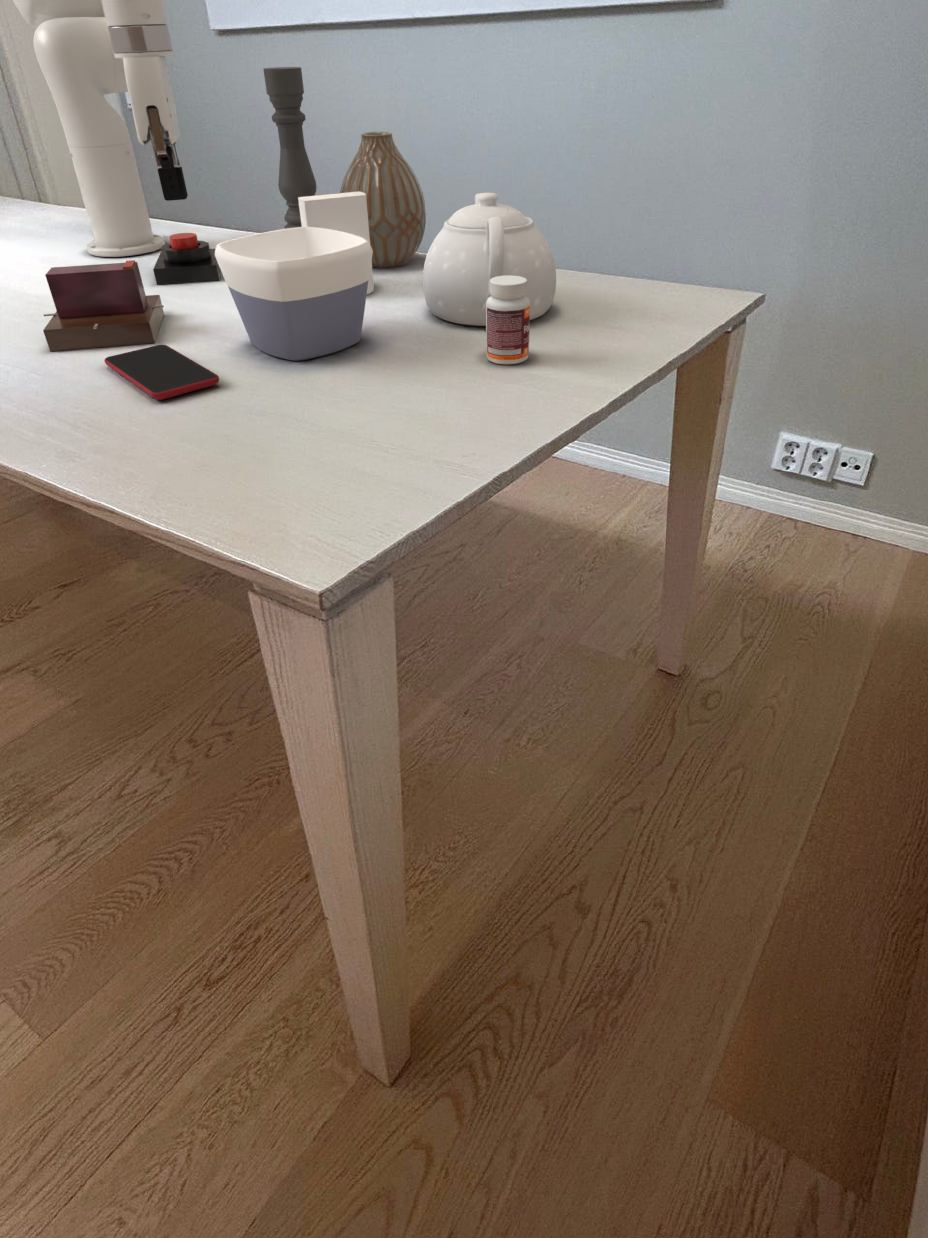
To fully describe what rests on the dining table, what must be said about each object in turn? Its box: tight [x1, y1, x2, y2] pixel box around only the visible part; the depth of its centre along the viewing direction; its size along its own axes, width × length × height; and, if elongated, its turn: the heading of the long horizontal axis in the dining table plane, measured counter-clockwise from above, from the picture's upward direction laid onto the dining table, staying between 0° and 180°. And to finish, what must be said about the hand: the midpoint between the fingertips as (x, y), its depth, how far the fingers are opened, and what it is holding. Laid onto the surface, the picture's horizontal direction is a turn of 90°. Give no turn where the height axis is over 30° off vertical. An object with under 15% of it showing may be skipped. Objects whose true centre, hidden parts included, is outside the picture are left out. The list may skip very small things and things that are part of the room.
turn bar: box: [44, 259, 148, 318], centre depth 97 cm, size 10×4×5 cm, turn 101°
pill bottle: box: [485, 275, 531, 365], centre depth 87 cm, size 5×5×8 cm
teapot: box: [422, 192, 557, 327], centre depth 100 cm, size 19×18×14 cm
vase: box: [339, 131, 427, 269], centre depth 120 cm, size 13×13×18 cm
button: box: [168, 232, 199, 249], centre depth 120 cm, size 4×4×2 cm
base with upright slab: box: [298, 192, 375, 295], centre depth 109 cm, size 9×9×12 cm
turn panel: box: [42, 294, 165, 352], centre depth 99 cm, size 14×14×3 cm
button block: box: [152, 239, 222, 286], centre depth 121 cm, size 11×9×4 cm
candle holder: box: [262, 66, 318, 229], centre depth 127 cm, size 6×6×25 cm
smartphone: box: [103, 344, 220, 401], centre depth 87 cm, size 7×1×15 cm
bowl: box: [214, 227, 373, 362], centre depth 91 cm, size 15×15×11 cm
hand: (176, 198), depth 116 cm, fingers closed
